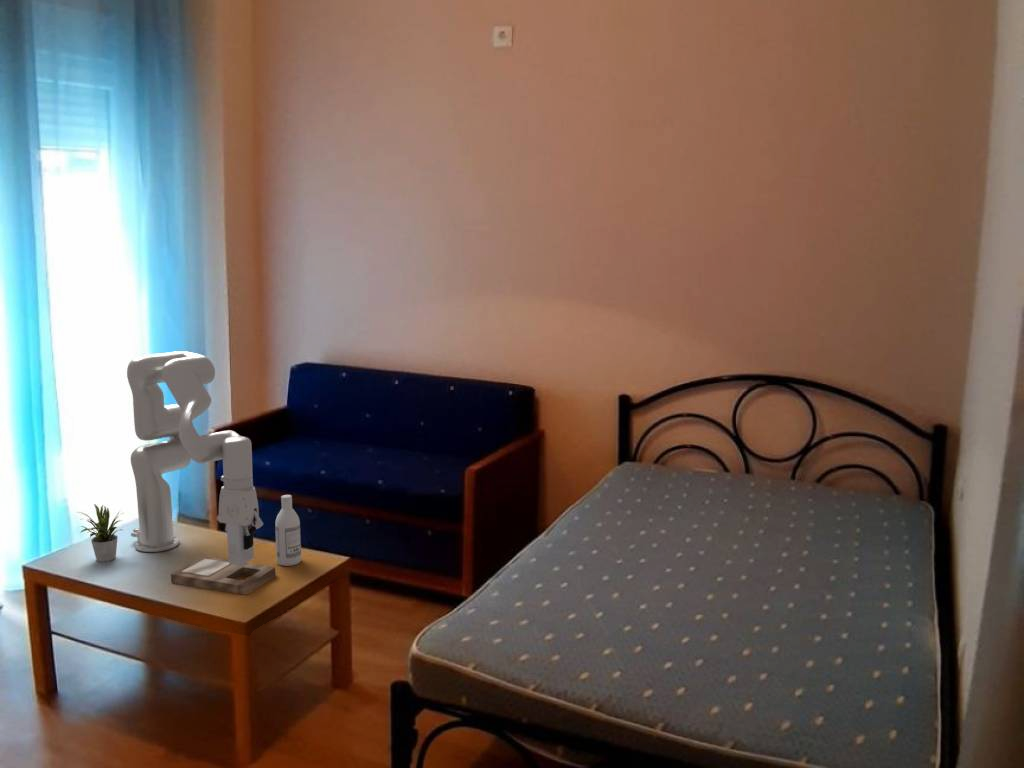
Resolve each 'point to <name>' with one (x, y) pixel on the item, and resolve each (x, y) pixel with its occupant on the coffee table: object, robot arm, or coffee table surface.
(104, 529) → the house plant
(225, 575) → the walnut frame
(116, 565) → the coffee table surface
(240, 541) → the skincare box
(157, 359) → the robot arm
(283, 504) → the bath foam
